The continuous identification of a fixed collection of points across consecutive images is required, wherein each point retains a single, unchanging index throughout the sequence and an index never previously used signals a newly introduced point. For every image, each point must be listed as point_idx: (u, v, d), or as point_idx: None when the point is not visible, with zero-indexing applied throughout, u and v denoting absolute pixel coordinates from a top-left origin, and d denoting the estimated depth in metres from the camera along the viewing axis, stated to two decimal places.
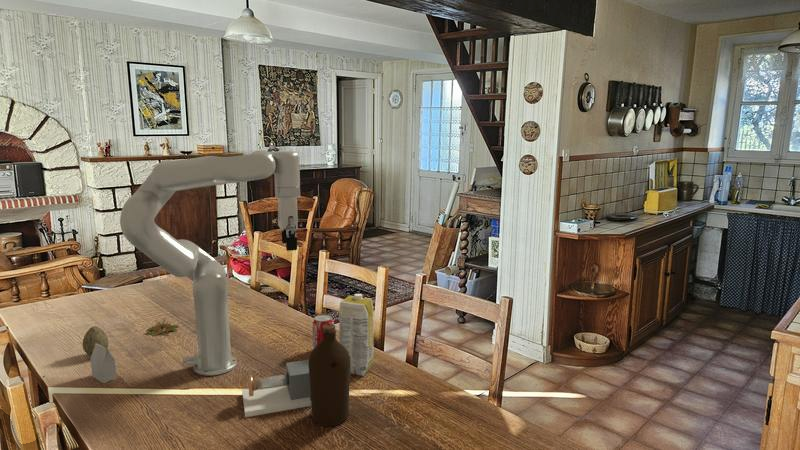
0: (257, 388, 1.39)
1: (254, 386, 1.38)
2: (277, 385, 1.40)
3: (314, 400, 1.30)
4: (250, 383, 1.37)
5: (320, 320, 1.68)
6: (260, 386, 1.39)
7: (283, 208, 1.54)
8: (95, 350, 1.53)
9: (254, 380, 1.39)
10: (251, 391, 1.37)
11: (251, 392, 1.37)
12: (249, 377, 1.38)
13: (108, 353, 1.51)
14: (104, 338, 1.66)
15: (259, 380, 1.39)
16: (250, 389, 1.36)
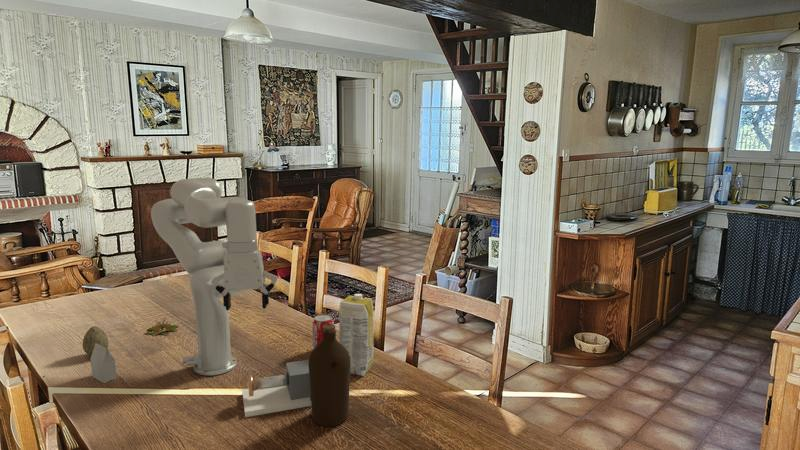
0: (257, 388, 1.39)
1: (254, 386, 1.38)
2: (277, 385, 1.40)
3: (314, 400, 1.30)
4: (250, 383, 1.37)
5: (320, 320, 1.68)
6: (260, 386, 1.39)
7: (260, 263, 1.38)
8: (95, 350, 1.53)
9: (254, 380, 1.39)
10: (251, 391, 1.37)
11: (251, 392, 1.37)
12: (249, 377, 1.38)
13: (108, 353, 1.51)
14: (104, 338, 1.66)
15: (259, 380, 1.39)
16: (250, 389, 1.36)
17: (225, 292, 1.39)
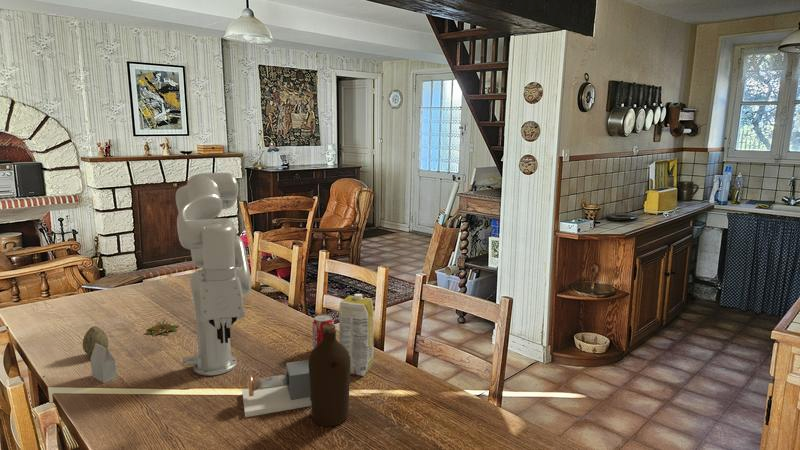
0: (257, 388, 1.39)
1: (254, 386, 1.38)
2: (277, 385, 1.40)
3: (314, 400, 1.30)
4: (250, 383, 1.37)
5: (320, 320, 1.68)
6: (260, 386, 1.39)
7: (240, 289, 1.31)
8: (95, 350, 1.53)
9: (254, 380, 1.39)
10: (251, 391, 1.37)
11: (251, 392, 1.37)
12: (249, 377, 1.38)
13: (108, 353, 1.51)
14: (104, 338, 1.66)
15: (259, 380, 1.39)
16: (250, 389, 1.36)
17: (217, 324, 1.32)
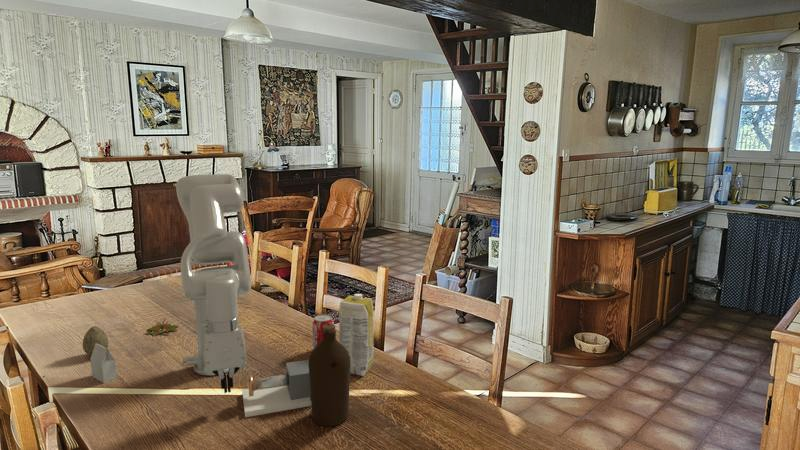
0: (257, 388, 1.39)
1: (254, 386, 1.38)
2: (277, 385, 1.40)
3: (314, 400, 1.30)
4: (250, 383, 1.37)
5: (320, 320, 1.68)
6: (260, 386, 1.39)
7: (243, 340, 1.34)
8: (95, 350, 1.53)
9: (254, 380, 1.39)
10: (251, 391, 1.37)
11: (251, 392, 1.37)
12: (249, 377, 1.38)
13: (108, 353, 1.51)
14: (104, 338, 1.66)
15: (259, 380, 1.39)
16: (250, 389, 1.36)
17: (221, 374, 1.34)
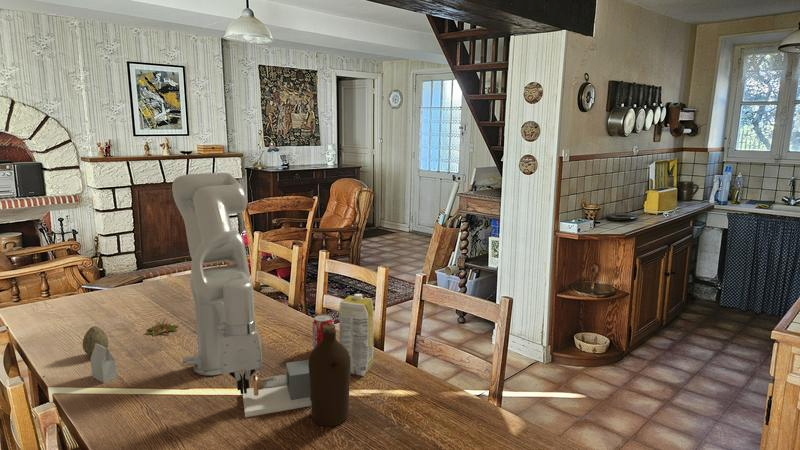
0: (262, 387, 1.39)
1: (259, 385, 1.38)
2: (282, 384, 1.41)
3: (314, 400, 1.30)
4: (255, 382, 1.37)
5: (320, 320, 1.68)
6: (265, 386, 1.39)
7: (259, 342, 1.36)
8: (95, 350, 1.53)
9: (259, 379, 1.39)
10: (256, 390, 1.37)
11: (256, 391, 1.37)
12: (254, 376, 1.38)
13: (108, 353, 1.51)
14: (104, 338, 1.66)
15: (264, 379, 1.40)
16: (255, 388, 1.37)
17: (238, 376, 1.36)
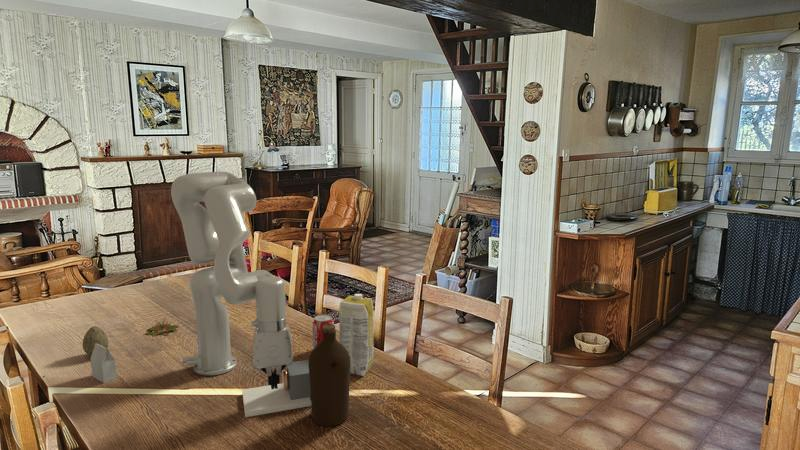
0: None
1: None
2: None
3: (314, 400, 1.30)
4: (285, 378, 1.40)
5: (320, 320, 1.68)
6: None
7: (290, 339, 1.38)
8: (95, 350, 1.53)
9: None
10: (286, 385, 1.40)
11: (286, 386, 1.40)
12: (284, 372, 1.41)
13: (108, 353, 1.51)
14: (104, 338, 1.66)
15: None
16: (285, 383, 1.40)
17: (269, 371, 1.39)
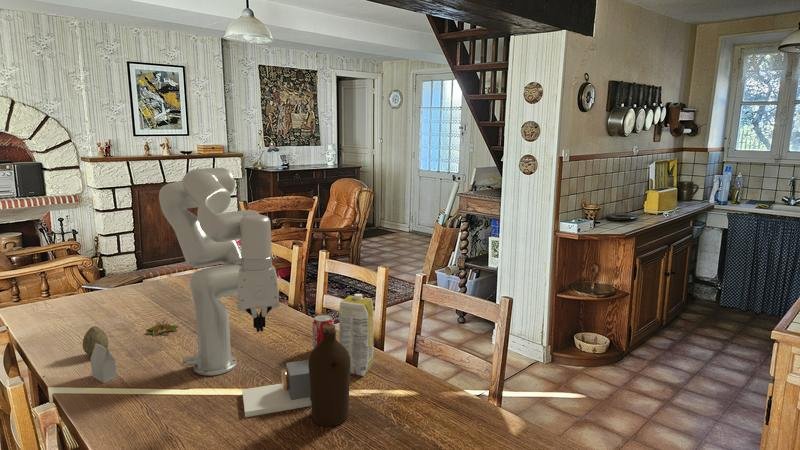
0: None
1: (288, 381, 1.41)
2: None
3: (314, 400, 1.30)
4: (285, 378, 1.40)
5: (320, 320, 1.68)
6: None
7: (276, 279, 1.34)
8: (95, 350, 1.53)
9: (288, 375, 1.42)
10: (286, 386, 1.40)
11: (286, 387, 1.40)
12: (283, 372, 1.41)
13: (108, 353, 1.51)
14: (104, 338, 1.66)
15: None
16: (285, 384, 1.39)
17: (254, 313, 1.35)
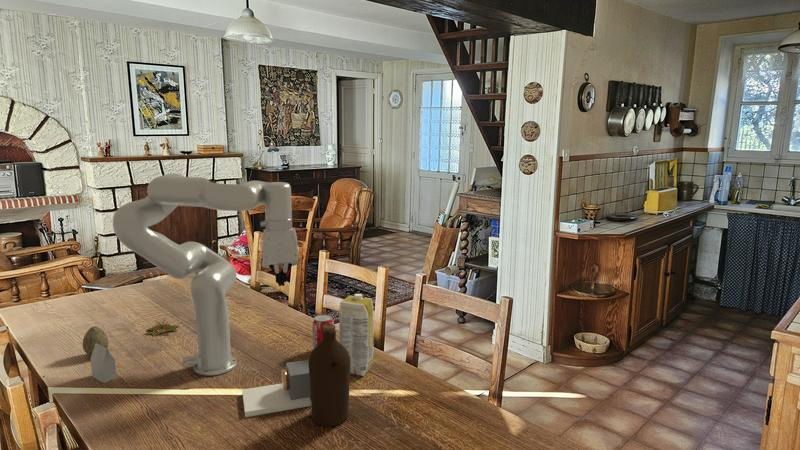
0: None
1: (288, 381, 1.41)
2: None
3: (314, 400, 1.30)
4: (285, 378, 1.40)
5: (320, 320, 1.68)
6: None
7: (296, 239, 1.52)
8: (95, 350, 1.53)
9: (288, 375, 1.42)
10: (286, 386, 1.40)
11: (286, 387, 1.40)
12: (283, 372, 1.41)
13: (108, 353, 1.51)
14: (104, 339, 1.66)
15: None
16: (285, 384, 1.39)
17: (277, 269, 1.52)
